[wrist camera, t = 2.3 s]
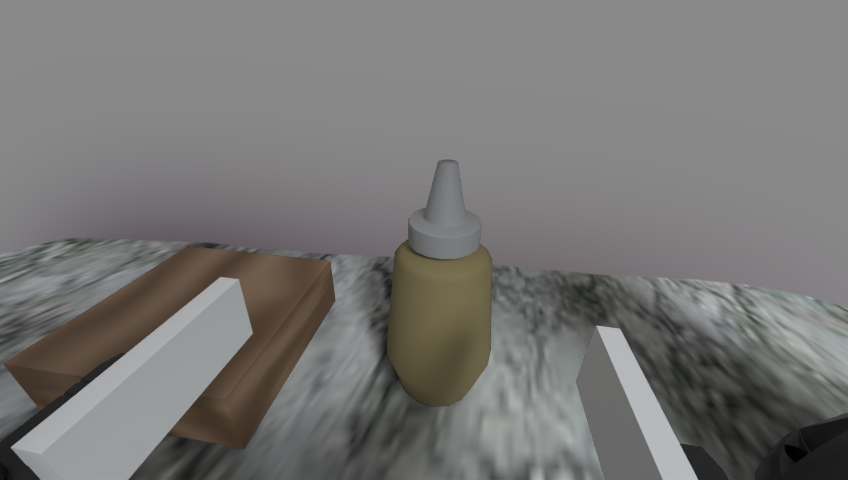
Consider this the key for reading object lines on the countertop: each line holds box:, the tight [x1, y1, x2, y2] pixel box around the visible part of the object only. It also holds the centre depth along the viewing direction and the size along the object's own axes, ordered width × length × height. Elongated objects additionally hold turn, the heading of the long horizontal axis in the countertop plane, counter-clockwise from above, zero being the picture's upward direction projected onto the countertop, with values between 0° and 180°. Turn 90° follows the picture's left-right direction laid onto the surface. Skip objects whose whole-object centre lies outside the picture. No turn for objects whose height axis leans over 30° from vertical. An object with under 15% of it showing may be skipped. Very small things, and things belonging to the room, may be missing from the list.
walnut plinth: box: [3, 246, 335, 449], centre depth 29 cm, size 16×16×5 cm
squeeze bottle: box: [387, 160, 492, 407], centre depth 24 cm, size 8×8×18 cm
